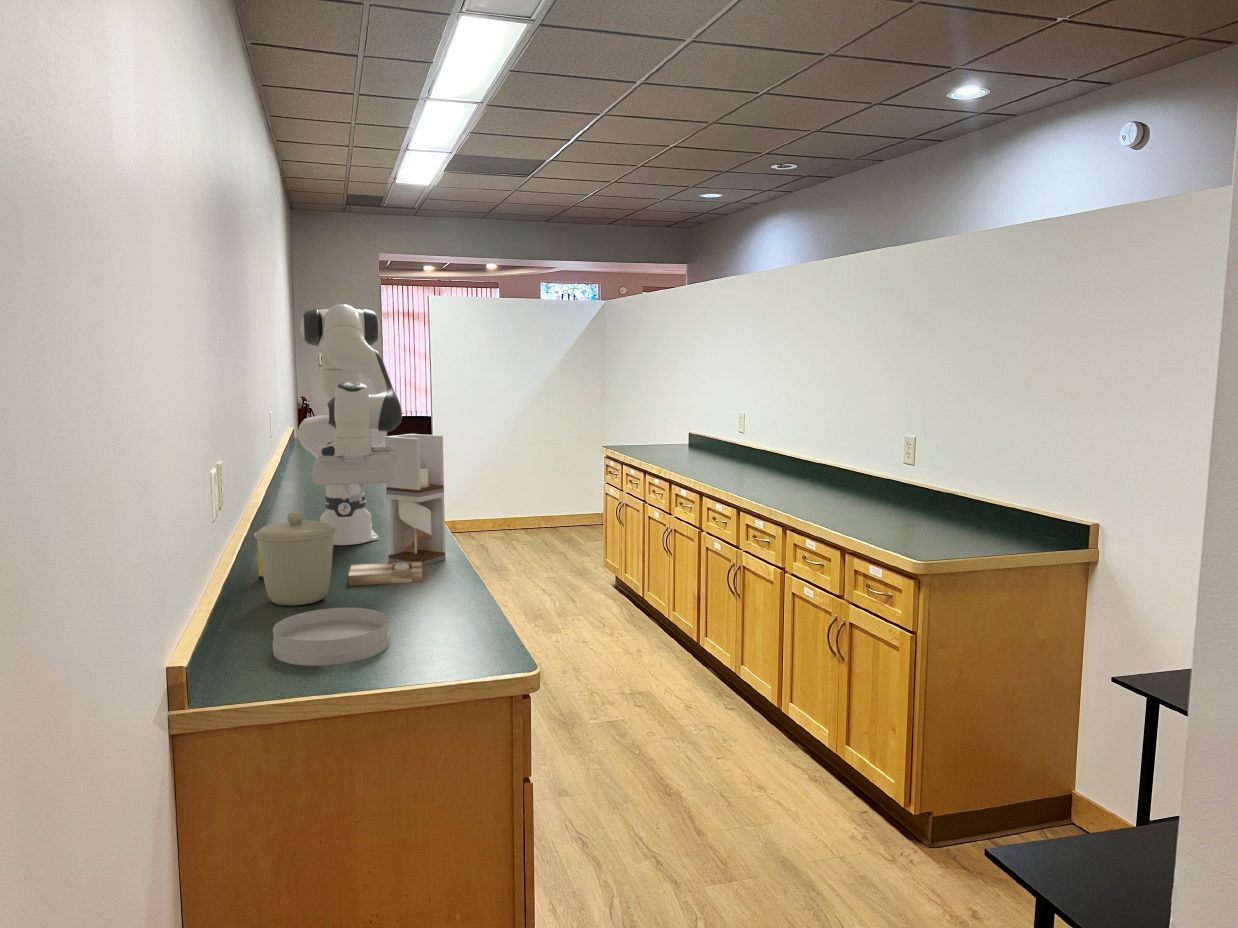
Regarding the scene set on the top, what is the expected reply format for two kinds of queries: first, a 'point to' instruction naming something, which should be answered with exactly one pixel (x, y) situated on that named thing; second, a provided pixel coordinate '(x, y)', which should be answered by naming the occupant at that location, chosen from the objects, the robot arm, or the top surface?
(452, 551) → the top surface
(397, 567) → the steel ball
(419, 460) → the display case
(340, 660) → the dish
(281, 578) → the canister
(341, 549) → the top surface
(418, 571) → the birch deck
